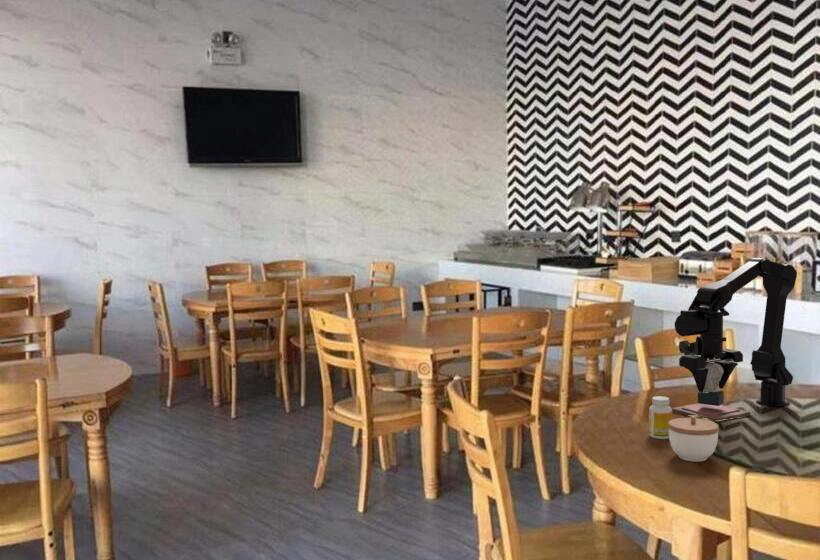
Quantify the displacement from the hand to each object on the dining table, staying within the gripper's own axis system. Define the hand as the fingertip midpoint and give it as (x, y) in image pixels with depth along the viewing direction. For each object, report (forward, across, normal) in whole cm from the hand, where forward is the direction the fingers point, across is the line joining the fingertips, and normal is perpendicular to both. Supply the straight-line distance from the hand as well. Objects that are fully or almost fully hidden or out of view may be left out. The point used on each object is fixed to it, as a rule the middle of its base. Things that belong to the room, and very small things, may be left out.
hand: (711, 390), depth 214 cm
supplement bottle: (+7, +27, +8) cm, 29 cm away
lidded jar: (+6, +33, +24) cm, 41 cm away
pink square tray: (+6, 0, 0) cm, 7 cm away
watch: (+4, 0, 0) cm, 4 cm away
